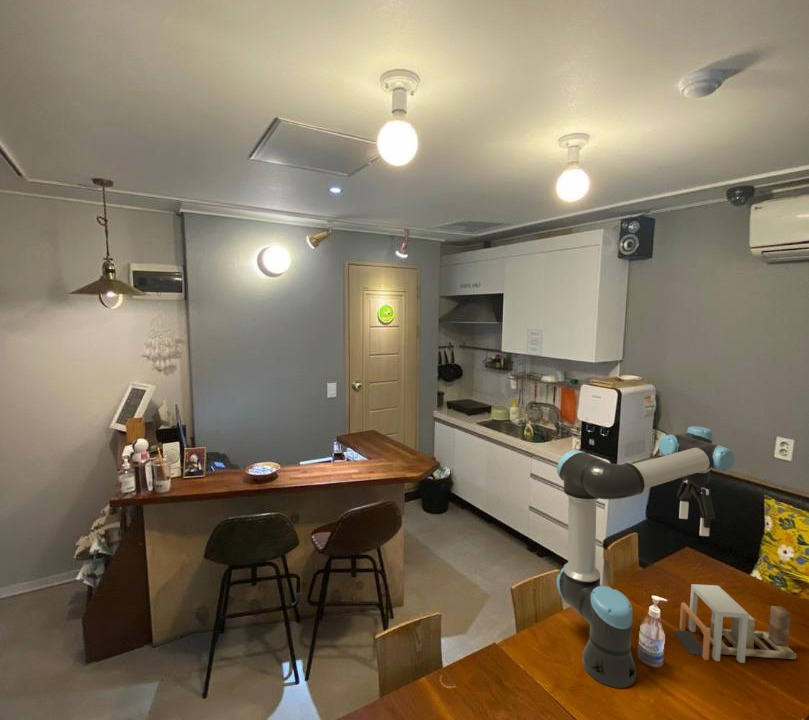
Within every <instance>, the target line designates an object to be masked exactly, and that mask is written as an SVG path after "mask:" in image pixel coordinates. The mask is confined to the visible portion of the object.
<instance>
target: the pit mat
mask: <svg viewBox="0 0 809 720" xmlns="http://www.w3.org/2000/svg"><path fill="white" fill-rule="evenodd" d="M671 631H672V633H673V634H674V635H675V636H676V638H677V640H678V641H679V642H680V644H682V646H683V647H684V648H685V650H686V651H687V652H688V655H691V656H702V654H703V644H701V643H700V641H699V640H698V639H697V638H696V637H695V636H694V634H693V633H692V632H691V631H690V630H689V631H688V630H685V631H681V630H671ZM709 657H710V654H709Z"/></svg>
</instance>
